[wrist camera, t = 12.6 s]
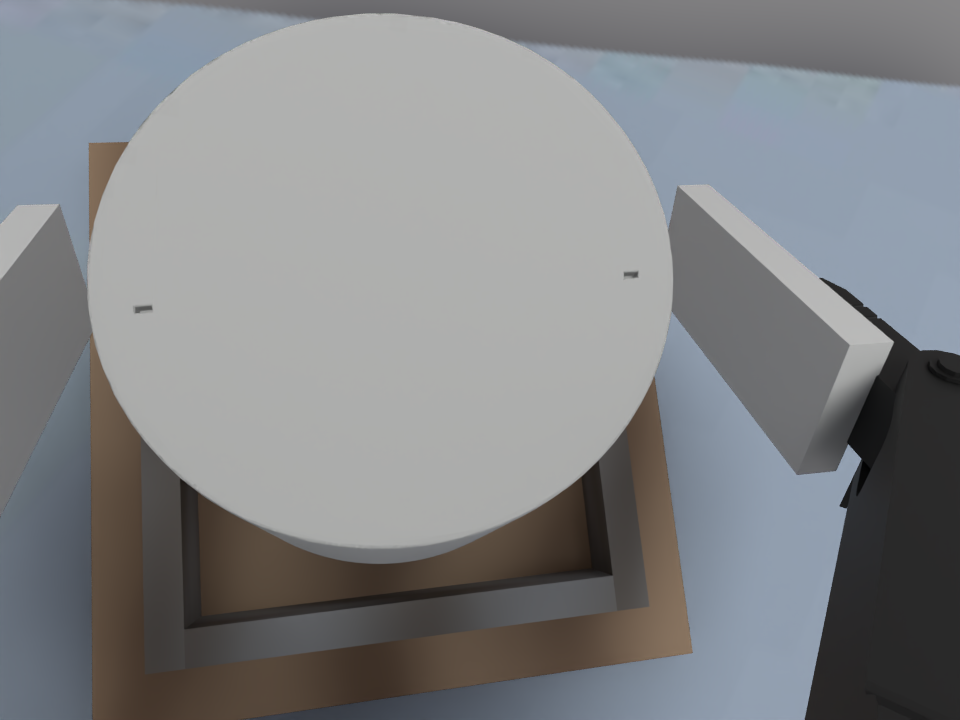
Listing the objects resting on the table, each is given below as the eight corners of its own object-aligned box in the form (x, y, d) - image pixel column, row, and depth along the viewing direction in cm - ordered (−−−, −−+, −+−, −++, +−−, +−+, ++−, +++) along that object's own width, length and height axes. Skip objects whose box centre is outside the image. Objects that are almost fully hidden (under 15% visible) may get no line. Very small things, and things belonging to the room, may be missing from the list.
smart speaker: (239, 569, 21) (1, 713, 7) (222, 273, 23) (-3, -55, 9) (545, 528, 23) (808, 587, 9) (510, 255, 24) (691, -48, 11)
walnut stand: (105, 729, 21) (62, 769, 18) (100, 157, 24) (62, 110, 21) (679, 646, 24) (722, 668, 21) (611, 146, 27) (641, 104, 24)
